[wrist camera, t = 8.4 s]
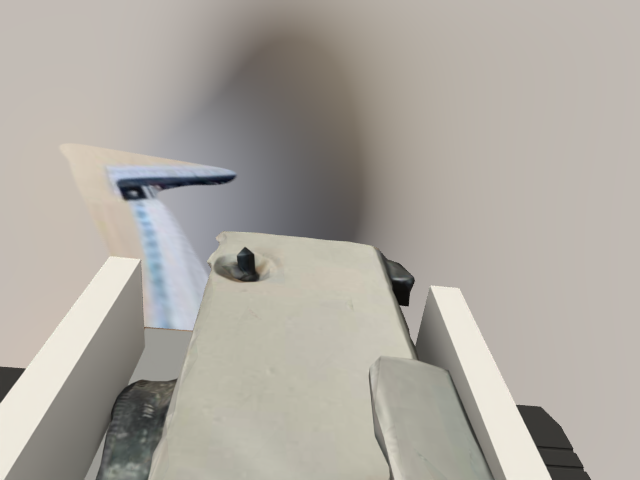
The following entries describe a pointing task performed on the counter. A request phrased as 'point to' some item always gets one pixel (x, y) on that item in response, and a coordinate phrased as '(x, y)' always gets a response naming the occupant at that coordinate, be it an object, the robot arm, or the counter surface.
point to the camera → (296, 378)
